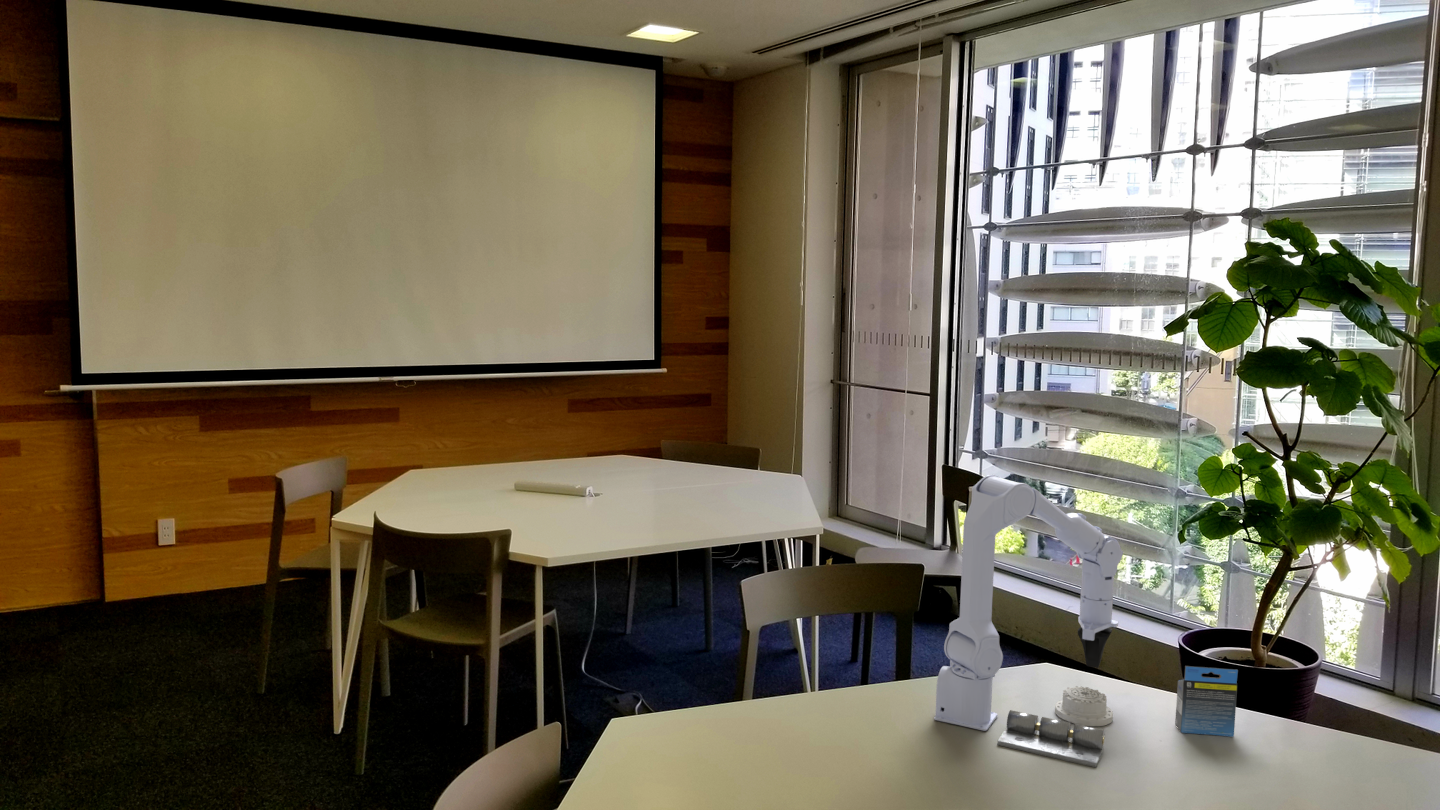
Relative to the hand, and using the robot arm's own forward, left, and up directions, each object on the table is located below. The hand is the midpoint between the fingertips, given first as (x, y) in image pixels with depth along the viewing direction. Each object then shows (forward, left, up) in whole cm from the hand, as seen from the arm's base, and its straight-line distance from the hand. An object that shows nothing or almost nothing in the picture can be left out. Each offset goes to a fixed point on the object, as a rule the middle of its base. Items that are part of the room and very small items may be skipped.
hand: (1092, 666), depth 195 cm
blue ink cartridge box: (+20, -5, -7) cm, 22 cm away
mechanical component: (0, -9, -7) cm, 11 cm away
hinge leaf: (-2, -26, -6) cm, 27 cm away
